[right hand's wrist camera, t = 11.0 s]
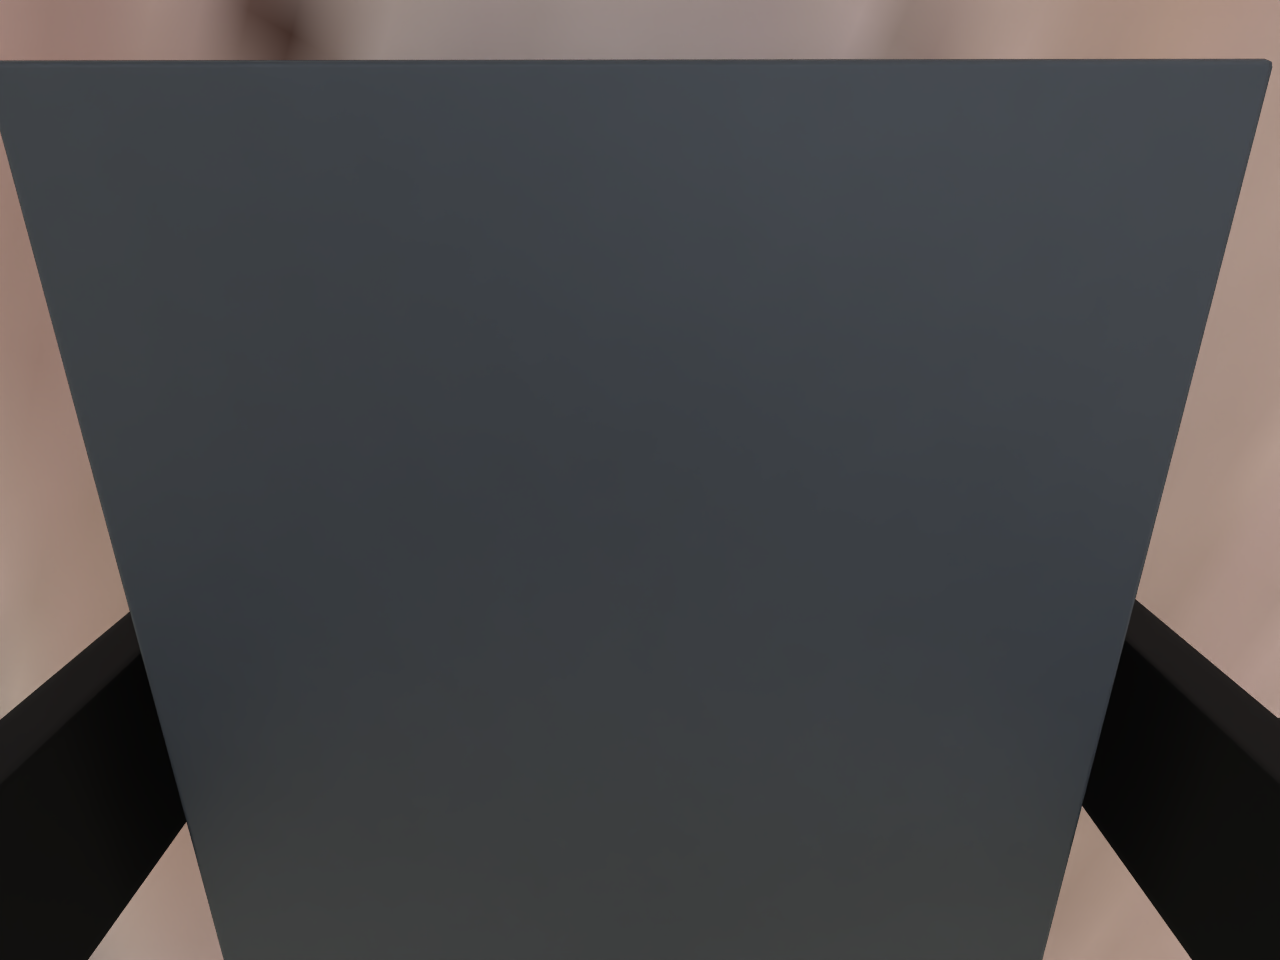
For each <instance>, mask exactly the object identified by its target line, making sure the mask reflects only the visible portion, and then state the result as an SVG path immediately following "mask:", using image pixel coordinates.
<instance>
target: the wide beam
mask: <svg viewBox="0 0 1280 960" xmlns="http://www.w3.org/2000/svg"><path fill="white" fill-rule="evenodd" d="M1271 70H1272V62H1271V61H1268V60H1266V59H805V60H56V61H0V132H1V135H2V139H3V143H4V146H5V150H6V154H7V157H8V161H9V165H10V169H11V172H12V176H13V180H14V183H15V187H16V191H17V195H18V198H19V202H20V206H21V209H22V213H23V217H24V221H25V224H26V228H27V232H28V235H29V239H30V243H31V246H32V250H33V254H34V258H35V261H36V265H37V269H38V272H39V276H40V280H41V284H42V287H43V291H44V295H45V298H46V302H47V306H48V310H49V313H50V317H51V321H52V324H53V328H54V332H55V335H56V339H57V343H58V347H59V350H60V354H61V358H62V361H63V365H64V369H65V373H66V376H67V380H68V384H69V387H70V391H71V395H72V398H73V402H74V406H75V410H76V413H77V417H78V421H79V424H80V428H81V432H82V436H83V439H84V443H85V447H86V450H87V454H88V458H89V462H90V465H91V469H92V473H93V476H94V480H95V484H96V487H97V491H98V495H99V499H100V502H101V506H102V510H103V513H104V517H105V521H106V525H107V528H108V532H109V536H110V539H111V543H112V547H113V551H114V554H115V558H116V562H117V565H118V569H119V573H120V576H121V580H122V584H123V588H124V591H125V595H126V599H127V602H128V606H129V610H130V614H131V617H132V621H133V625H134V628H135V632H136V636H137V639H138V643H139V647H140V651H141V654H142V658H143V662H144V665H145V669H146V673H147V677H148V680H149V684H150V688H151V691H152V695H153V699H154V703H155V706H156V710H157V714H158V717H159V721H160V725H161V728H162V732H163V736H164V740H165V743H166V747H167V751H168V754H169V758H170V762H171V766H172V769H173V773H174V777H175V780H176V784H177V788H178V791H179V795H180V799H181V803H182V806H183V810H184V814H185V817H186V821H187V825H188V829H189V832H190V836H191V840H192V843H193V847H194V851H195V855H196V858H197V862H198V866H199V869H200V873H201V877H202V880H203V884H204V888H205V892H206V895H207V899H208V903H209V906H210V910H211V914H212V918H213V921H214V925H215V929H216V932H217V936H218V940H219V944H220V947H221V951H222V955H223V958H224V960H1042V959H1043V955H1044V951H1045V947H1046V943H1047V939H1048V935H1049V931H1050V928H1051V924H1052V920H1053V916H1054V912H1055V908H1056V904H1057V900H1058V897H1059V893H1060V889H1061V885H1062V881H1063V877H1064V873H1065V869H1066V865H1067V862H1068V858H1069V854H1070V850H1071V846H1072V842H1073V838H1074V834H1075V831H1076V827H1077V823H1078V819H1079V815H1080V811H1081V807H1082V803H1083V799H1084V796H1085V792H1086V788H1087V784H1088V780H1089V776H1090V772H1091V768H1092V765H1093V761H1094V757H1095V753H1096V749H1097V745H1098V741H1099V737H1100V733H1101V730H1102V726H1103V722H1104V718H1105V714H1106V710H1107V706H1108V702H1109V699H1110V695H1111V691H1112V687H1113V683H1114V679H1115V675H1116V671H1117V668H1118V664H1119V660H1120V656H1121V652H1122V648H1123V644H1124V640H1125V636H1126V633H1127V629H1128V625H1129V621H1130V617H1131V613H1132V609H1133V605H1134V602H1135V598H1136V594H1137V590H1138V586H1139V582H1140V578H1141V574H1142V570H1143V567H1144V563H1145V559H1146V555H1147V551H1148V547H1149V543H1150V539H1151V536H1152V532H1153V528H1154V524H1155V520H1156V516H1157V512H1158V508H1159V504H1160V501H1161V497H1162V493H1163V489H1164V485H1165V481H1166V477H1167V473H1168V470H1169V466H1170V462H1171V458H1172V454H1173V450H1174V446H1175V442H1176V438H1177V435H1178V431H1179V427H1180V423H1181V419H1182V415H1183V411H1184V407H1185V404H1186V400H1187V396H1188V392H1189V388H1190V384H1191V380H1192V376H1193V373H1194V369H1195V365H1196V361H1197V357H1198V353H1199V349H1200V345H1201V341H1202V338H1203V334H1204V330H1205V326H1206V322H1207V318H1208V314H1209V310H1210V307H1211V303H1212V299H1213V295H1214V291H1215V287H1216V283H1217V279H1218V275H1219V272H1220V268H1221V264H1222V260H1223V256H1224V252H1225V248H1226V244H1227V241H1228V237H1229V233H1230V229H1231V225H1232V221H1233V217H1234V213H1235V209H1236V206H1237V202H1238V198H1239V194H1240V190H1241V186H1242V182H1243V178H1244V175H1245V171H1246V167H1247V163H1248V159H1249V155H1250V151H1251V147H1252V143H1253V140H1254V136H1255V132H1256V128H1257V124H1258V120H1259V116H1260V112H1261V109H1262V105H1263V101H1264V97H1265V93H1266V89H1267V85H1268V81H1269V78H1270V74H1271Z"/></svg>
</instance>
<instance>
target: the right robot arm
mask: <svg viewBox="0 0 1280 960" xmlns="http://www.w3.org/2000/svg"><path fill="white" fill-rule="evenodd" d="M1082 806H1083V808H1084V809H1085V810H1086V812H1087V813H1088V815H1089V816H1090V817H1091V819H1092V820H1093V822H1094V823H1095V824H1096V826H1097V827H1098V829H1099V830H1100V831H1101V833H1102V834H1103V836H1104V837H1105V838H1106V840H1107V841H1108V843H1109V844H1110V845H1111V847H1112V848H1113V850H1114V851H1115V852H1116V854H1117V855H1118V857H1119V858H1120V859H1121V861H1122V862H1123V864H1124V865H1125V866H1126V868H1127V869H1128V871H1129V872H1130V873H1131V875H1132V876H1133V878H1134V879H1135V880H1136V882H1137V883H1138V885H1139V886H1140V887H1141V889H1142V890H1143V892H1144V893H1145V894H1146V896H1147V897H1148V899H1149V900H1150V901H1151V903H1152V904H1153V906H1154V907H1155V908H1156V910H1157V911H1158V913H1159V914H1160V915H1161V917H1162V918H1163V920H1164V921H1165V922H1166V924H1167V925H1168V927H1169V928H1170V929H1171V931H1172V932H1173V934H1174V935H1175V936H1176V938H1177V939H1178V941H1179V942H1180V943H1181V945H1182V946H1183V948H1184V949H1185V950H1186V952H1187V953H1188V955H1189V956H1190V958H1191V959H1192V960H1280V718H1277V717H1276V716H1275V715H1273V714H1272V713H1271V712H1270V711H1269V710H1267V709H1266V708H1265V707H1264V706H1263V705H1261V704H1260V703H1259V702H1258V701H1257V700H1255V699H1254V698H1253V697H1252V696H1251V695H1249V694H1248V693H1247V692H1246V691H1245V690H1243V689H1242V688H1241V687H1240V686H1239V685H1237V684H1236V683H1235V682H1234V681H1233V680H1231V679H1230V678H1229V677H1228V676H1227V675H1226V674H1224V673H1223V672H1222V671H1221V670H1220V669H1218V668H1217V667H1216V666H1215V665H1214V664H1212V663H1211V662H1210V661H1209V660H1208V659H1206V658H1205V657H1204V656H1203V655H1202V654H1200V653H1199V652H1198V651H1197V650H1196V649H1194V648H1193V647H1192V646H1191V645H1190V644H1188V643H1187V642H1186V641H1185V640H1184V639H1182V638H1181V637H1180V636H1179V635H1178V634H1176V633H1175V632H1174V631H1173V630H1172V629H1170V628H1169V627H1168V626H1167V625H1166V624H1164V623H1163V622H1162V621H1161V620H1160V619H1158V618H1157V617H1156V616H1155V615H1154V614H1152V613H1151V612H1150V611H1149V610H1148V609H1146V608H1145V607H1144V606H1143V605H1142V604H1140V603H1139V602H1138V601H1137V600H1136V599H1135V602H1134V605H1133V609H1132V613H1131V617H1130V621H1129V625H1128V629H1127V633H1126V636H1125V640H1124V644H1123V648H1122V652H1121V656H1120V660H1119V664H1118V668H1117V671H1116V675H1115V679H1114V683H1113V687H1112V691H1111V695H1110V699H1109V702H1108V706H1107V710H1106V714H1105V718H1104V722H1103V726H1102V730H1101V733H1100V737H1099V741H1098V745H1097V749H1096V753H1095V757H1094V761H1093V765H1092V768H1091V772H1090V776H1089V780H1088V784H1087V788H1086V792H1085V796H1084V799H1083V803H1082ZM186 822H187V821H186V817H185V814H184V810H183V806H182V803H181V799H180V795H179V791H178V788H177V784H176V780H175V777H174V773H173V769H172V766H171V762H170V758H169V754H168V751H167V747H166V743H165V740H164V736H163V732H162V728H161V725H160V721H159V717H158V714H157V710H156V706H155V703H154V699H153V695H152V691H151V688H150V684H149V680H148V677H147V673H146V669H145V665H144V662H143V658H142V654H141V651H140V647H139V643H138V639H137V636H136V632H135V628H134V625H133V621H132V617H131V614H130V612H129V613H128V614H126V615H125V616H124V617H123V618H122V619H120V620H119V621H118V622H117V623H116V624H114V625H113V626H112V627H111V628H110V629H108V630H107V631H106V632H105V633H104V634H102V635H101V636H100V637H99V638H98V639H96V640H95V641H94V642H93V643H92V644H90V645H89V646H88V647H87V648H86V649H84V650H83V651H82V652H81V653H80V654H78V655H77V656H76V657H75V658H74V659H72V660H71V661H70V662H69V663H68V664H66V665H65V666H64V667H63V668H62V669H60V670H59V671H58V672H57V673H56V674H55V675H53V676H52V677H51V678H50V679H49V680H47V681H46V682H45V683H44V684H43V685H41V686H40V687H39V688H38V689H37V690H35V691H34V692H33V693H32V694H31V695H29V696H28V697H27V698H26V699H25V700H23V701H22V702H21V703H20V704H19V705H17V706H16V707H15V708H14V709H13V710H11V711H10V712H9V713H8V714H7V715H5V716H4V717H3V718H2V719H1V720H0V960H88V959H89V958H90V956H91V955H92V953H93V952H94V951H95V949H96V948H97V946H98V945H99V944H100V942H101V941H102V939H103V938H104V937H105V935H106V934H107V932H108V931H109V929H110V928H111V927H112V925H113V924H114V922H115V921H116V920H117V918H118V917H119V915H120V914H121V913H122V911H123V910H124V908H125V907H126V906H127V904H128V903H129V901H130V900H131V899H132V897H133V896H134V894H135V893H136V892H137V890H138V889H139V887H140V886H141V885H142V883H143V882H144V880H145V879H146V878H147V876H148V875H149V873H150V872H151V871H152V869H153V868H154V866H155V865H156V864H157V862H158V861H159V859H160V858H161V857H162V855H163V854H164V852H165V851H166V850H167V848H168V847H169V845H170V844H171V843H172V841H173V840H174V838H175V837H176V836H177V834H178V833H179V831H180V830H181V829H182V827H183V826H184V824H185V823H186Z"/></svg>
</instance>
